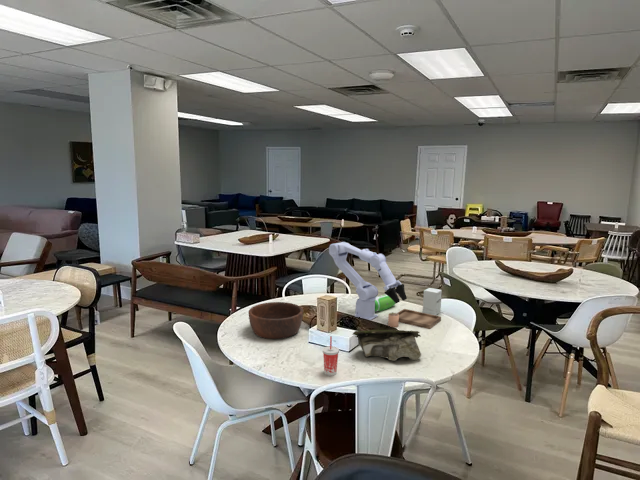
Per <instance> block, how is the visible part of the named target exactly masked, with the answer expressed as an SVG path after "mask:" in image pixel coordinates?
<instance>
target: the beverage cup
mask: <svg viewBox="0 0 640 480" xmlns="http://www.w3.org/2000/svg"><path fill="white" fill-rule="evenodd" d="M329 337H330V339H329V340H330V341H329V345H328V346H324V347H323V348H322V353H323V354H322V355H323V356H322V357H323V373H324V375H326V376H335V375H336V374H337V370H338V358H339V353H340V348H338V347H337V346H332V344H333V343H332V341H333V340H332V339H333V338H332V336H329Z"/></svg>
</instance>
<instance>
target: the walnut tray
mask: <svg viewBox="0 0 640 480" xmlns="http://www.w3.org/2000/svg"><path fill="white" fill-rule="evenodd" d="M396 313H397V314H399V323H400V324H401V323H402V324H406V325H409V326H410V325H411V326H414V327H418V328H419V327H420V328H423V329H427V330H430V329H432V328H433V327H435V326H436V325H437V324H438V323H440V322H441V321H442V316H440V315H431V314H427V313H423V311H416V310H413V309H412V310H411V309H406V308H402V309H401V310H399V311H398V312H396Z"/></svg>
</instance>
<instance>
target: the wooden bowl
mask: <svg viewBox="0 0 640 480" xmlns="http://www.w3.org/2000/svg"><path fill="white" fill-rule="evenodd" d="M303 316H304V309H303V307H302V306H300V305H297V304H296V303H292V302H284V301H283V302H282V301H272V302H265V303H258V304H257V305H254V306H252V307H251V308H249V310H248V319H249V324H250V327H251V329H252V332H253V333H254V334H255V335H256V336H257V337H259V338H263V339H268V340H283V339H285V338H290V337H293V336H294V335H296V334H297V333H298V332H299V330H300V328H301V326H302V323H303Z"/></svg>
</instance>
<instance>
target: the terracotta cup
mask: <svg viewBox="0 0 640 480" xmlns="http://www.w3.org/2000/svg"><path fill="white" fill-rule="evenodd" d="M397 313H398V312H390V313H388V315H387V316H388V321H387V326H388V327H389V326H390V327H389V328H398V327H399V323H400V322H399V314H397Z"/></svg>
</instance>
